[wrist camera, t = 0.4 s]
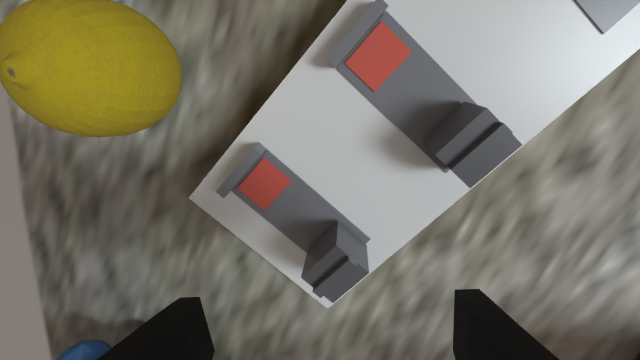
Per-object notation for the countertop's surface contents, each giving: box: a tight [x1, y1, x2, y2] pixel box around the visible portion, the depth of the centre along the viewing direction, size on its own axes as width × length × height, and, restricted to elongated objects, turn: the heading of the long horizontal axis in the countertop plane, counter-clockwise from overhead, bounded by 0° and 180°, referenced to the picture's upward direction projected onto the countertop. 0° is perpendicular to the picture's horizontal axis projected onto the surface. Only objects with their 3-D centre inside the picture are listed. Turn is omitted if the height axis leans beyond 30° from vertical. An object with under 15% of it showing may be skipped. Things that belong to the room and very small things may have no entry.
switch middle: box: [422, 101, 522, 188], centre depth 13 cm, size 2×2×3 cm
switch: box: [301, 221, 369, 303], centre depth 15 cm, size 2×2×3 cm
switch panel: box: [189, 0, 640, 308], centre depth 15 cm, size 23×10×4 cm, turn 138°
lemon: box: [0, 0, 182, 137], centre depth 13 cm, size 6×6×8 cm
